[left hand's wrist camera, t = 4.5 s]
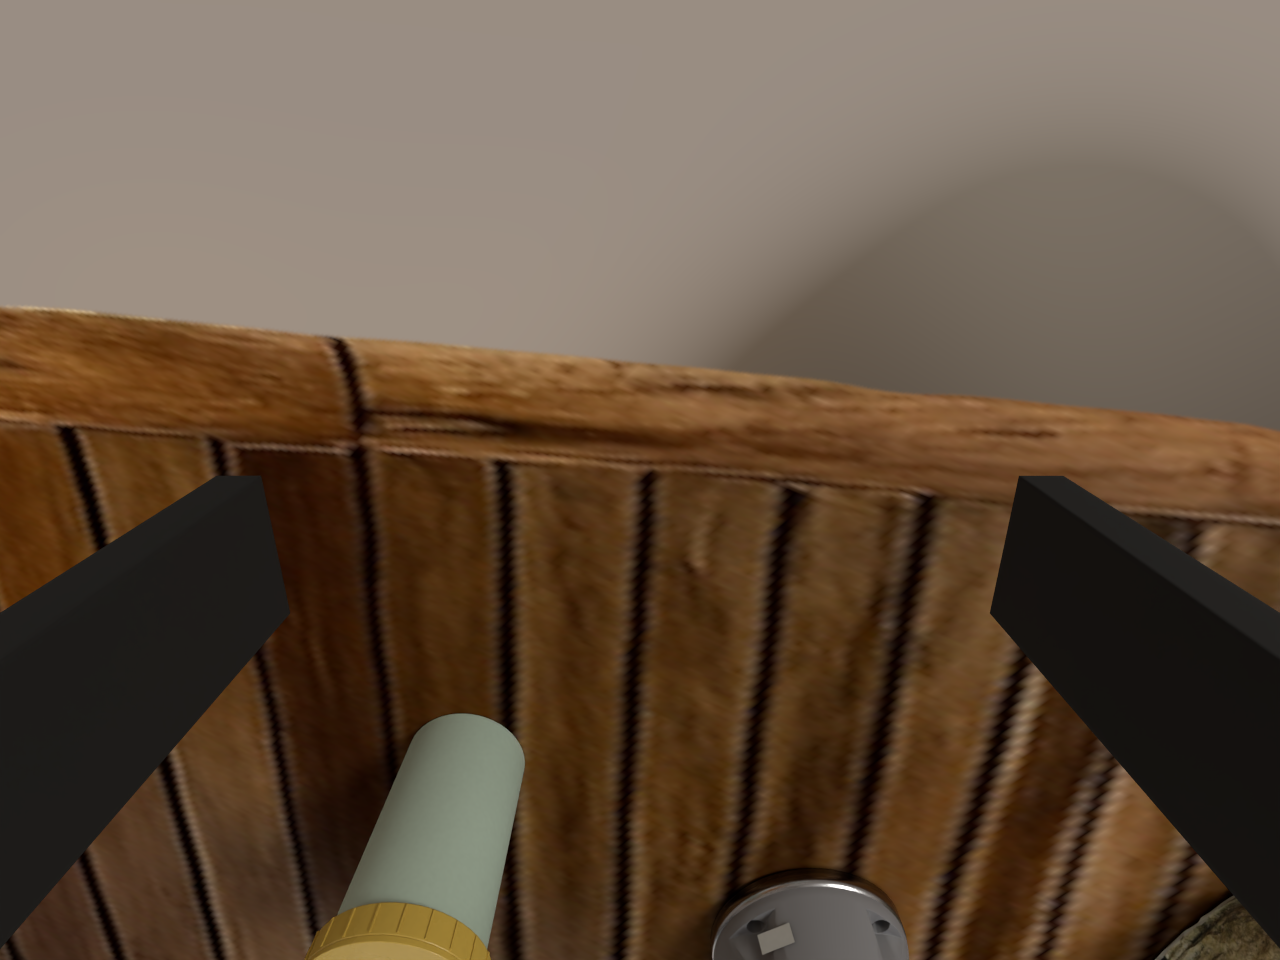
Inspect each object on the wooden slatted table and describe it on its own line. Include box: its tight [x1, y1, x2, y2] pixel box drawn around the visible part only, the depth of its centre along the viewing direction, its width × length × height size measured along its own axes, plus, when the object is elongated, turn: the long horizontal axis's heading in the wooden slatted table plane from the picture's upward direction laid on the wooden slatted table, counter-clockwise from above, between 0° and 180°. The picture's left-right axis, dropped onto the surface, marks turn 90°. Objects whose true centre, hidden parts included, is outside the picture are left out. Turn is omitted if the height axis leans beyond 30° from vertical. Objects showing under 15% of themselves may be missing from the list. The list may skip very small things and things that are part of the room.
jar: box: [337, 714, 525, 949], centre depth 42 cm, size 8×8×16 cm
